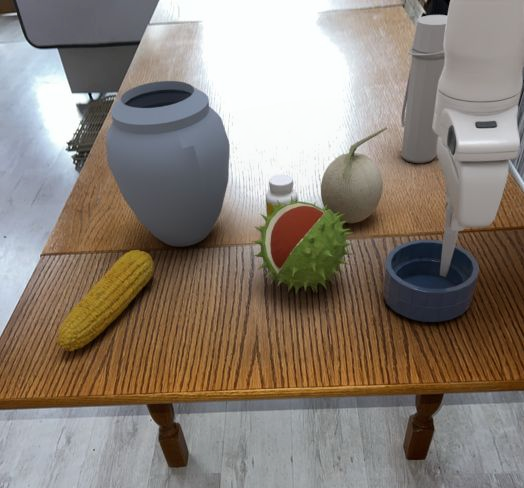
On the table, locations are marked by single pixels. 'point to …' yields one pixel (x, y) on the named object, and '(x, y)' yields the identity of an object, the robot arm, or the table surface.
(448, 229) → the pen
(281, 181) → the supplement bottle
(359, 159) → the fruit
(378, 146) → the table surface
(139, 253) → the food
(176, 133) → the vase
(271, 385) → the table surface
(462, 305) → the bowl
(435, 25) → the water bottle
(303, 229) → the chestnut
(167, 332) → the table surface
